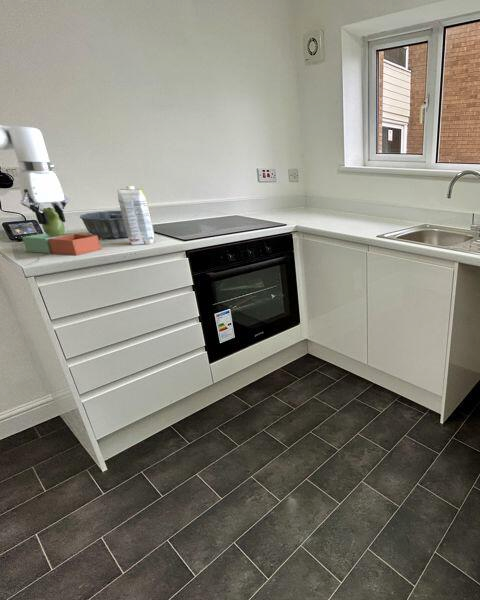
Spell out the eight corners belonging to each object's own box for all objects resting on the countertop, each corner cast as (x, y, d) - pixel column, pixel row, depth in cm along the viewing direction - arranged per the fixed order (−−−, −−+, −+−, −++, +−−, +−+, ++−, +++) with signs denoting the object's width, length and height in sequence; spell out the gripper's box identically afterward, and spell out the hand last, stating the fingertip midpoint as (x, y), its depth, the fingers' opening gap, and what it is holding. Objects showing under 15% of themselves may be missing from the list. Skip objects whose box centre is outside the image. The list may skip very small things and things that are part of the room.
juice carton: (156, 240, 160) (144, 185, 151) (155, 244, 154) (142, 187, 145) (131, 242, 156) (117, 185, 147) (128, 245, 149) (113, 187, 140)
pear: (69, 234, 127) (61, 206, 124) (62, 237, 123) (54, 208, 119) (49, 235, 125) (41, 206, 122) (42, 238, 121) (32, 208, 117)
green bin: (50, 253, 134) (45, 238, 132) (26, 251, 135) (21, 237, 133) (76, 247, 144) (72, 233, 142) (54, 245, 145) (49, 232, 143)
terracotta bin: (76, 255, 133) (72, 240, 131) (53, 253, 134) (48, 238, 132) (101, 249, 142) (97, 235, 140) (79, 247, 144) (74, 234, 142)
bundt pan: (161, 236, 169) (156, 215, 165) (90, 243, 151) (84, 220, 147) (146, 228, 185) (142, 209, 182) (81, 234, 167) (75, 212, 164)
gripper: (53, 167, 124) (67, 219, 131) (-5, 166, 108) (15, 225, 115) (71, 168, 123) (85, 220, 130) (16, 168, 108) (35, 227, 114)
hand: (52, 222), depth 122 cm, fingers closed on pear, 4 cm apart
